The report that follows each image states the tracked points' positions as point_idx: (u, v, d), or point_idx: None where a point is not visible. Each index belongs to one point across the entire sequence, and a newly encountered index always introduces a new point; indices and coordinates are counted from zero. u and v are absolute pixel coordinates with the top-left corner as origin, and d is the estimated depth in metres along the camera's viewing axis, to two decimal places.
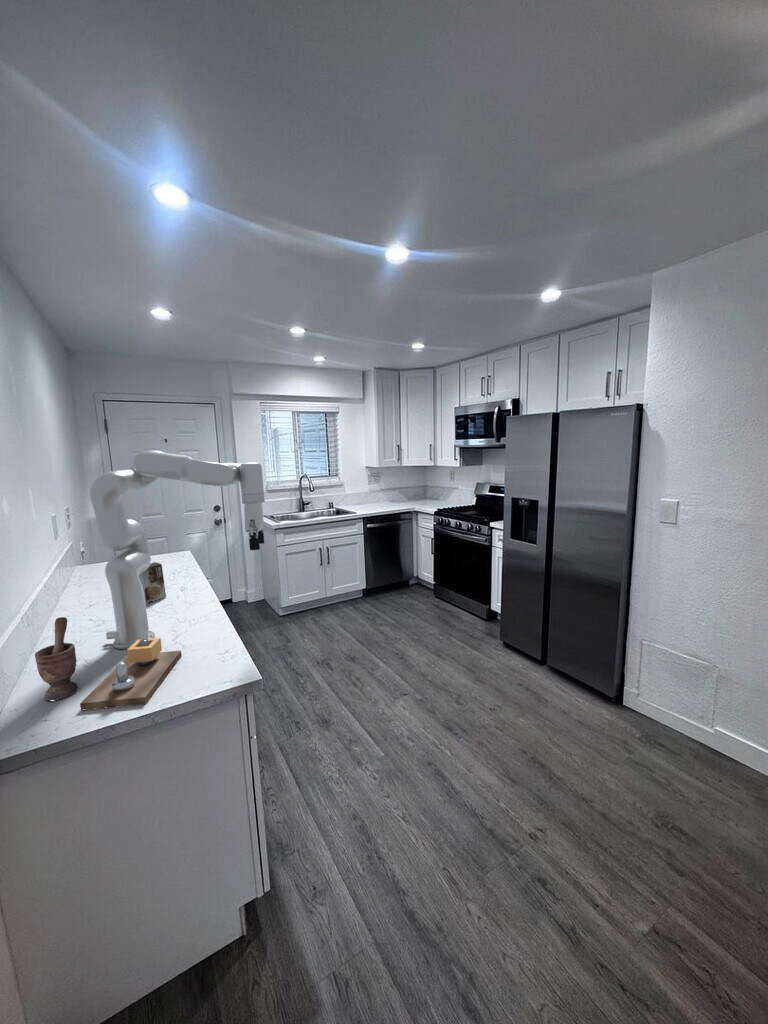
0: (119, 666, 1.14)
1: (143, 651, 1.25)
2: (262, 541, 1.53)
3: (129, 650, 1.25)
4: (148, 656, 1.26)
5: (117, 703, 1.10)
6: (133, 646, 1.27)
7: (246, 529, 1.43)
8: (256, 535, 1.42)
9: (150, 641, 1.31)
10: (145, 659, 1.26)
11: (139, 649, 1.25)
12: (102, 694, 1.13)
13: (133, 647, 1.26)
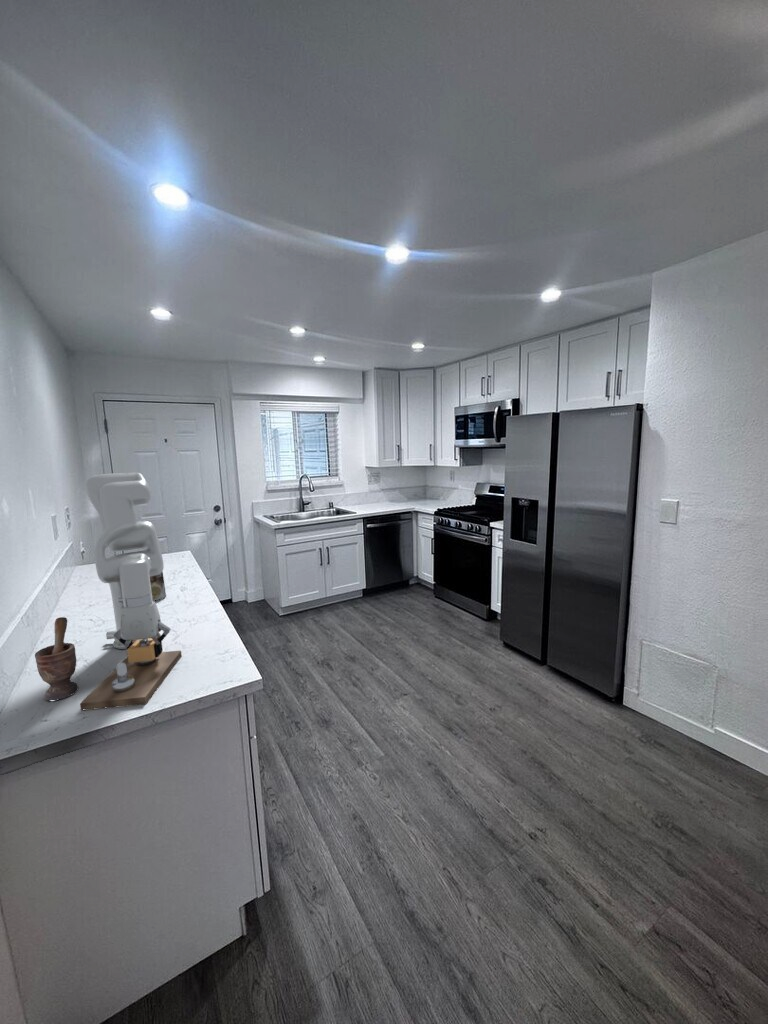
0: (119, 666, 1.14)
1: (143, 651, 1.25)
2: None
3: (129, 650, 1.25)
4: (148, 656, 1.26)
5: (117, 703, 1.10)
6: (133, 646, 1.27)
7: (156, 633, 1.26)
8: None
9: (150, 641, 1.31)
10: (145, 659, 1.26)
11: (139, 649, 1.25)
12: (102, 694, 1.13)
13: (133, 647, 1.26)
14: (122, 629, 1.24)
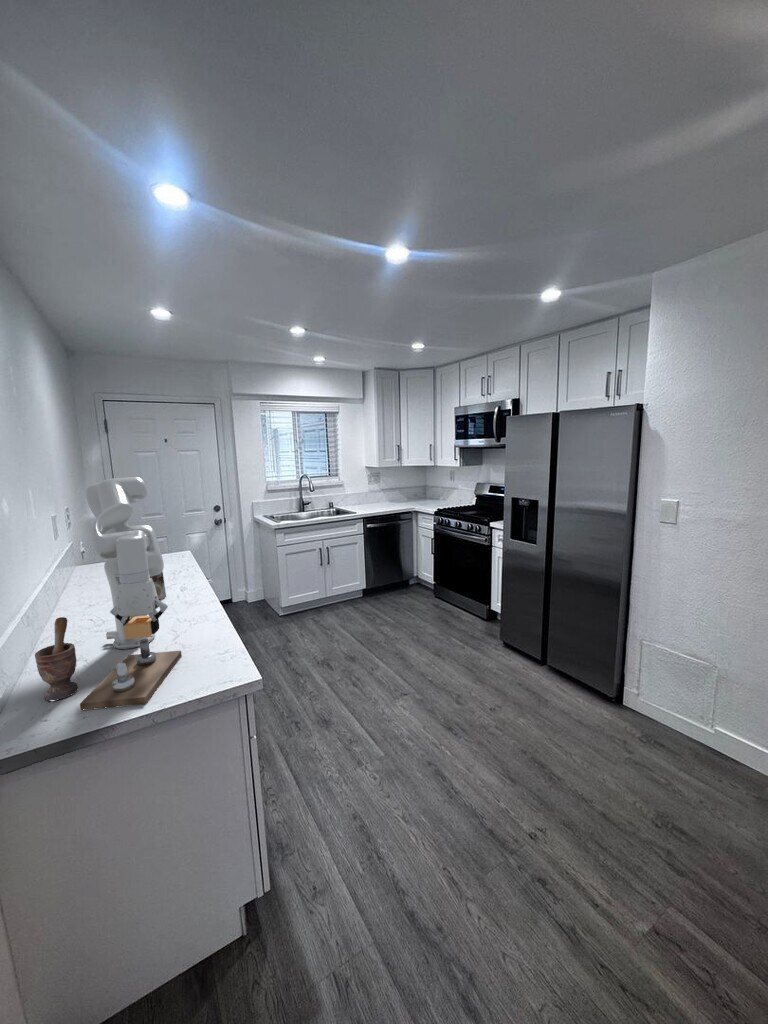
0: (119, 666, 1.14)
1: (140, 627, 1.25)
2: None
3: (126, 626, 1.24)
4: (145, 633, 1.25)
5: (117, 703, 1.10)
6: (130, 623, 1.26)
7: (153, 609, 1.25)
8: None
9: (147, 618, 1.30)
10: (142, 636, 1.25)
11: (136, 625, 1.24)
12: (102, 694, 1.13)
13: (130, 623, 1.25)
14: (118, 605, 1.24)
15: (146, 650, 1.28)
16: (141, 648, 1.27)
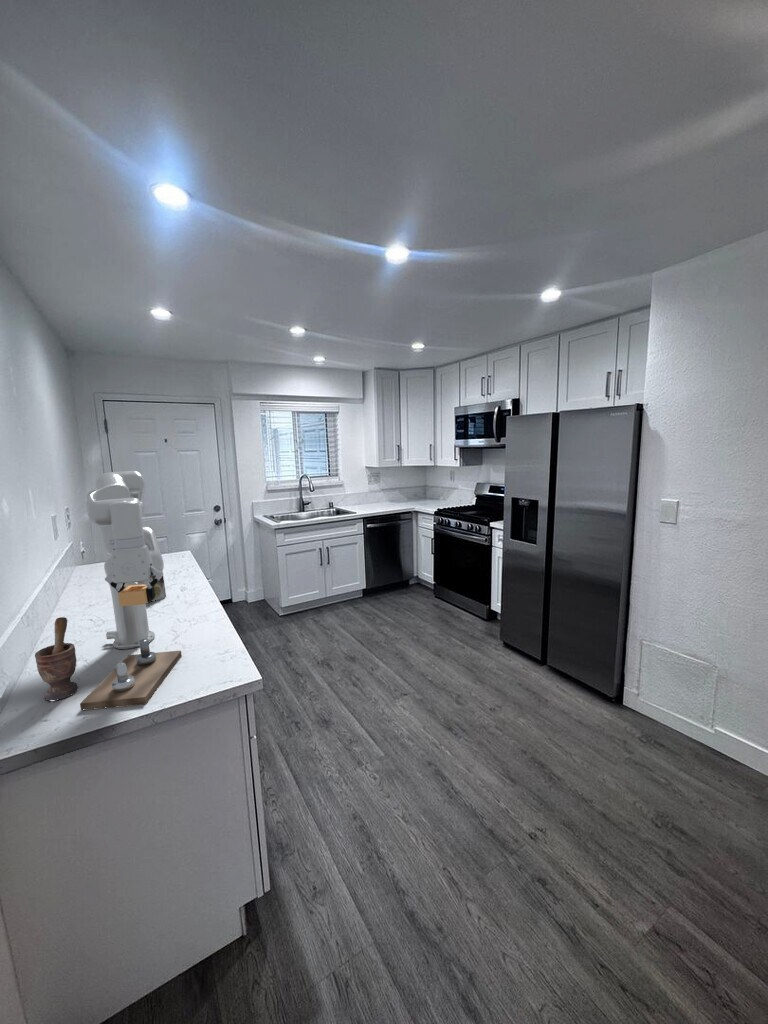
0: (119, 666, 1.14)
1: (135, 594, 1.22)
2: None
3: (120, 593, 1.22)
4: (140, 600, 1.23)
5: (117, 703, 1.10)
6: (125, 590, 1.24)
7: (148, 576, 1.23)
8: None
9: (142, 587, 1.27)
10: (137, 603, 1.23)
11: (131, 592, 1.22)
12: (102, 694, 1.13)
13: (124, 591, 1.23)
14: (113, 571, 1.21)
15: (146, 650, 1.28)
16: (141, 648, 1.27)
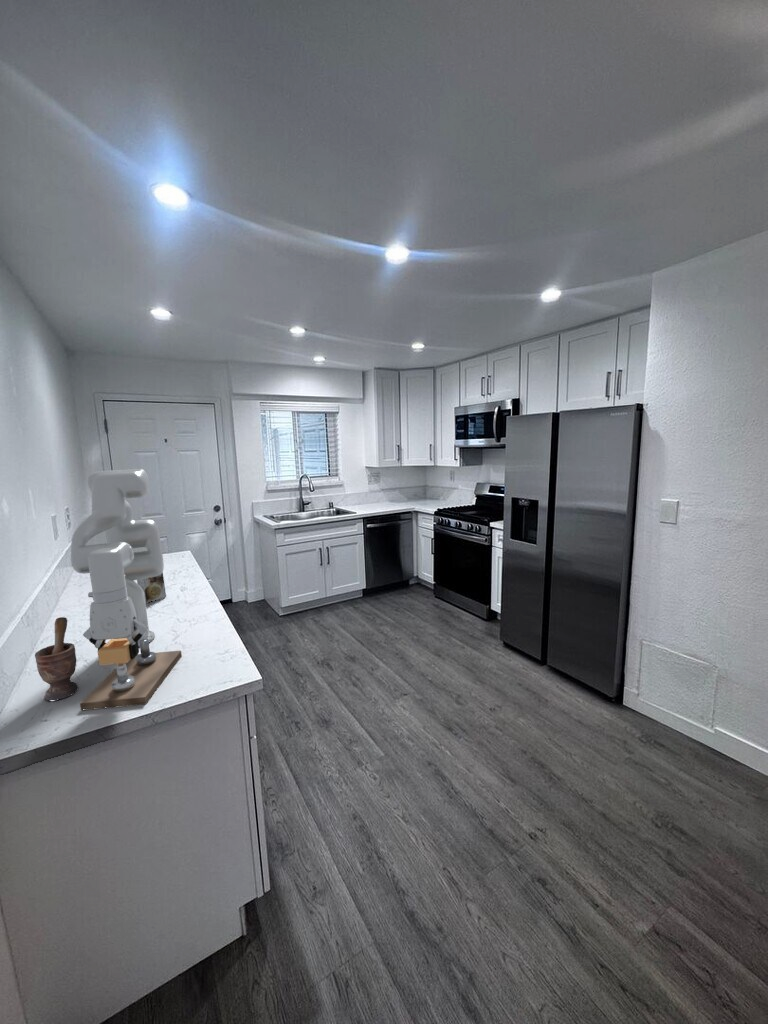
0: (119, 666, 1.14)
1: (116, 652, 1.11)
2: None
3: (100, 651, 1.10)
4: (122, 658, 1.11)
5: (117, 703, 1.10)
6: (105, 647, 1.12)
7: (131, 632, 1.11)
8: None
9: (125, 641, 1.16)
10: (118, 661, 1.11)
11: (111, 650, 1.10)
12: (102, 694, 1.13)
13: (105, 648, 1.11)
14: (92, 627, 1.10)
15: (146, 650, 1.28)
16: (141, 648, 1.27)
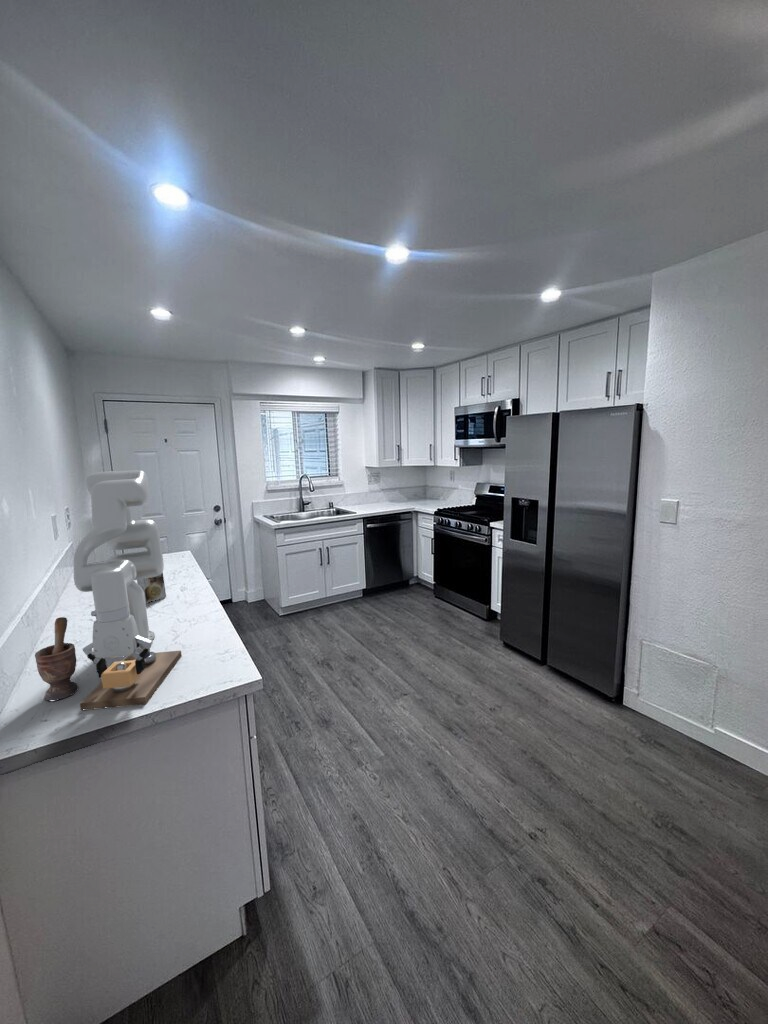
0: (119, 666, 1.14)
1: (119, 676, 1.12)
2: None
3: (103, 675, 1.11)
4: (125, 681, 1.12)
5: (117, 703, 1.10)
6: (108, 670, 1.13)
7: (133, 650, 1.12)
8: None
9: (128, 664, 1.17)
10: (122, 685, 1.12)
11: (115, 674, 1.11)
12: (102, 694, 1.13)
13: (108, 671, 1.12)
14: (95, 646, 1.10)
15: None
16: (141, 648, 1.27)
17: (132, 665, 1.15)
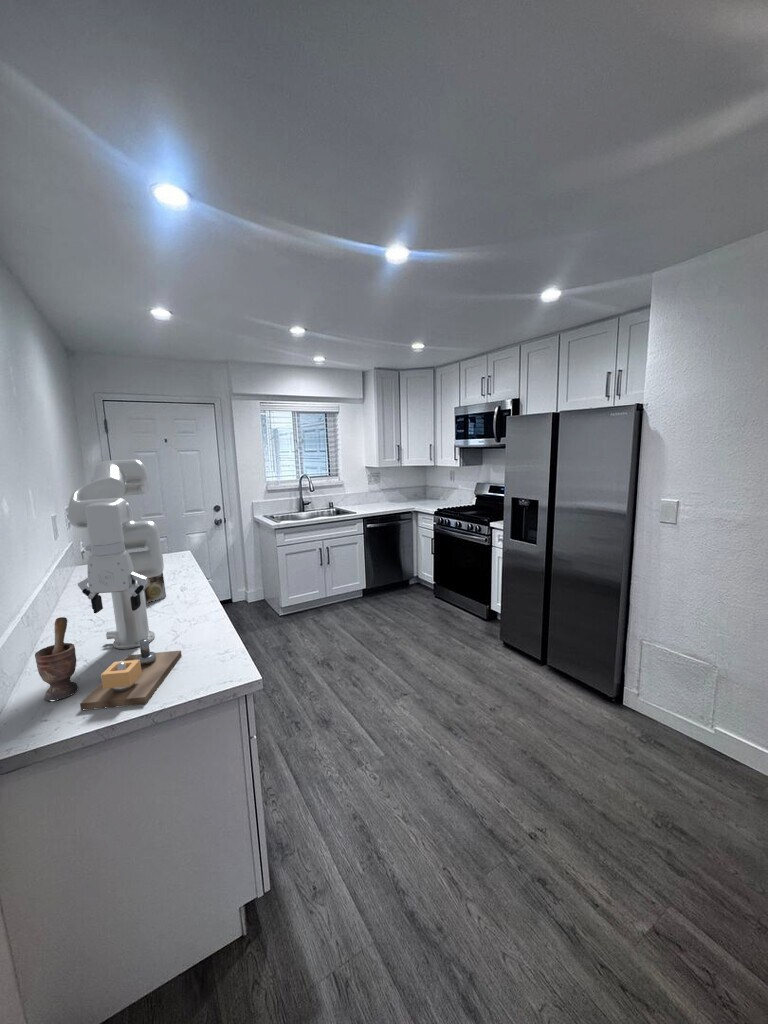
0: (119, 666, 1.14)
1: (119, 676, 1.12)
2: (101, 606, 1.15)
3: (103, 675, 1.11)
4: (125, 681, 1.12)
5: (117, 703, 1.10)
6: (108, 670, 1.13)
7: (128, 586, 1.12)
8: None
9: (128, 664, 1.17)
10: (122, 685, 1.12)
11: (115, 674, 1.11)
12: (102, 694, 1.13)
13: (108, 671, 1.12)
14: (90, 580, 1.10)
15: (146, 650, 1.28)
16: (141, 648, 1.27)
17: (132, 665, 1.15)
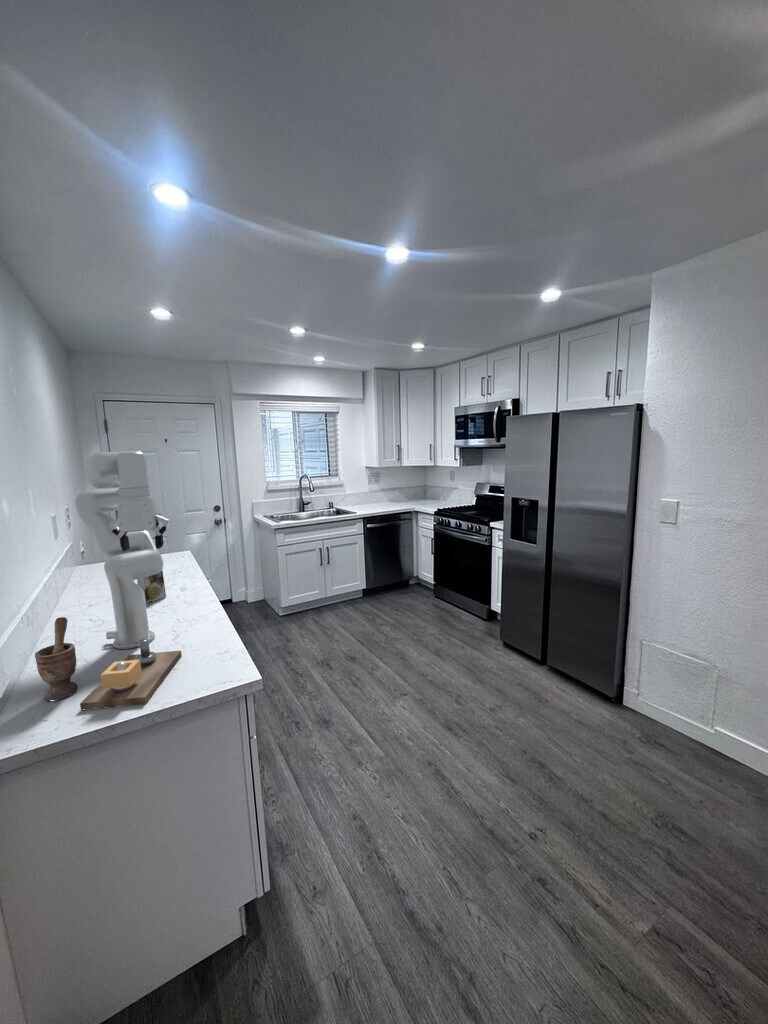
0: (119, 666, 1.14)
1: (119, 676, 1.12)
2: (128, 546, 1.30)
3: (103, 675, 1.11)
4: (125, 681, 1.12)
5: (117, 703, 1.10)
6: (108, 670, 1.13)
7: (153, 526, 1.26)
8: None
9: (128, 664, 1.17)
10: (122, 685, 1.12)
11: (115, 674, 1.11)
12: (102, 694, 1.13)
13: (108, 671, 1.12)
14: (119, 520, 1.25)
15: (146, 650, 1.28)
16: (141, 648, 1.27)
17: (132, 665, 1.15)
